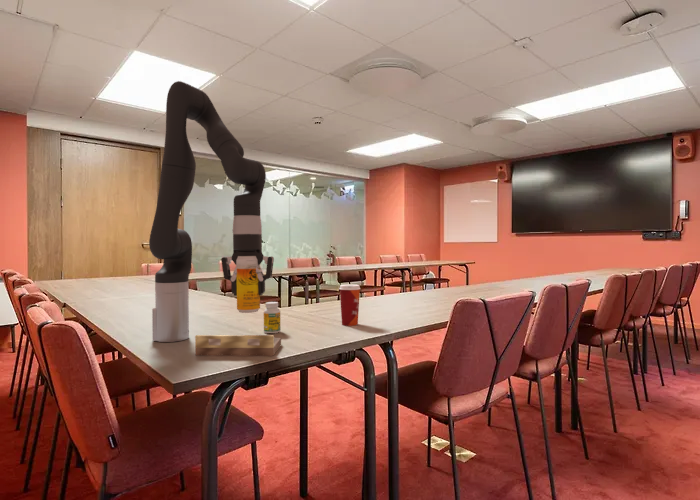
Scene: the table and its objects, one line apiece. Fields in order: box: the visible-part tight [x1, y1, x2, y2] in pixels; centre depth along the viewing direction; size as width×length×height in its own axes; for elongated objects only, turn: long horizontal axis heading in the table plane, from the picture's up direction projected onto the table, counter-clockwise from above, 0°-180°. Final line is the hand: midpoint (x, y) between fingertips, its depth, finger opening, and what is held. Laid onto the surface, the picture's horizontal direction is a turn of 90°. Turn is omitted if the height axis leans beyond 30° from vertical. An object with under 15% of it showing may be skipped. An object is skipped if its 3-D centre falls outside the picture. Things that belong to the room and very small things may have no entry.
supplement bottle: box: [263, 301, 281, 334], centre depth 133 cm, size 5×5×10 cm
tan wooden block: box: [194, 334, 282, 357], centre depth 111 cm, size 20×11×5 cm, turn 89°
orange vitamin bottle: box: [235, 256, 261, 314], centre depth 111 cm, size 6×6×15 cm
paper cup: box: [338, 283, 362, 327], centre depth 146 cm, size 8×8×14 cm
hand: (248, 294), depth 111 cm, fingers closed on orange vitamin bottle, 6 cm apart
